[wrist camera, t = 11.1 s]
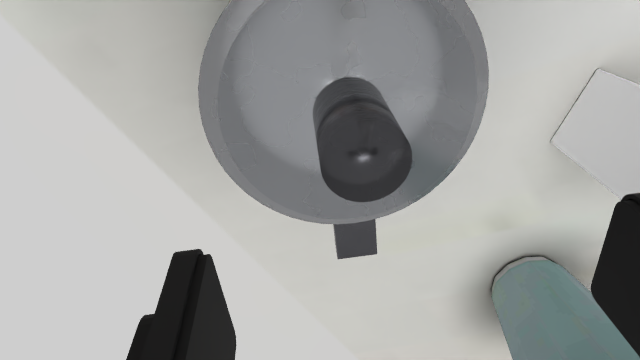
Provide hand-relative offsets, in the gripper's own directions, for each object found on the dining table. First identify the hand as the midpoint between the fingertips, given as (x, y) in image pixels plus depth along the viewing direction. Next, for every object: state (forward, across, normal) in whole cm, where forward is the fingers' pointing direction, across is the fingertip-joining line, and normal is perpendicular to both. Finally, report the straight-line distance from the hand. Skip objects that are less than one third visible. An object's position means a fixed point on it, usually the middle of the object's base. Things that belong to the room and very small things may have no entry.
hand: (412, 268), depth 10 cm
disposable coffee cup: (+21, -16, +24) cm, 36 cm away
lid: (+12, 0, +1) cm, 12 cm away
